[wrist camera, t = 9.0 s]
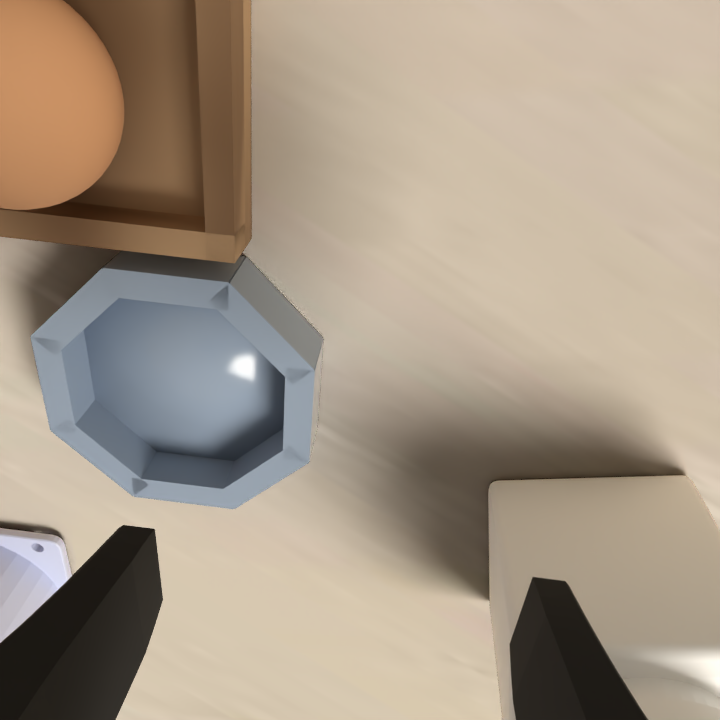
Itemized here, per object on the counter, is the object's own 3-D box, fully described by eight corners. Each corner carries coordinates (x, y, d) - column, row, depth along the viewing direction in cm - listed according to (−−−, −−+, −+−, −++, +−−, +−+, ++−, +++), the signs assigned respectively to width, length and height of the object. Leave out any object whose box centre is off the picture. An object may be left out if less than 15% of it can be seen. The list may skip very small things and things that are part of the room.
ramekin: (87, 452, 24) (62, 487, 22) (49, 233, 19) (13, 257, 18) (314, 479, 24) (306, 518, 22) (328, 266, 19) (319, 293, 18)
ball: (-13, 175, 18) (-145, 230, 13) (-61, -33, 15) (-244, -49, 11) (162, 187, 18) (86, 246, 13) (141, -20, 15) (40, -31, 11)
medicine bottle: (488, 603, 27) (532, 990, 16) (487, 476, 23) (541, 868, 13) (664, 603, 26) (826, 1011, 15) (691, 470, 22) (925, 887, 12)
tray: (-69, 202, 19) (-117, 223, 18) (-157, -122, 15) (-231, -136, 13) (251, 238, 19) (234, 263, 17) (251, -81, 15) (228, -90, 13)
